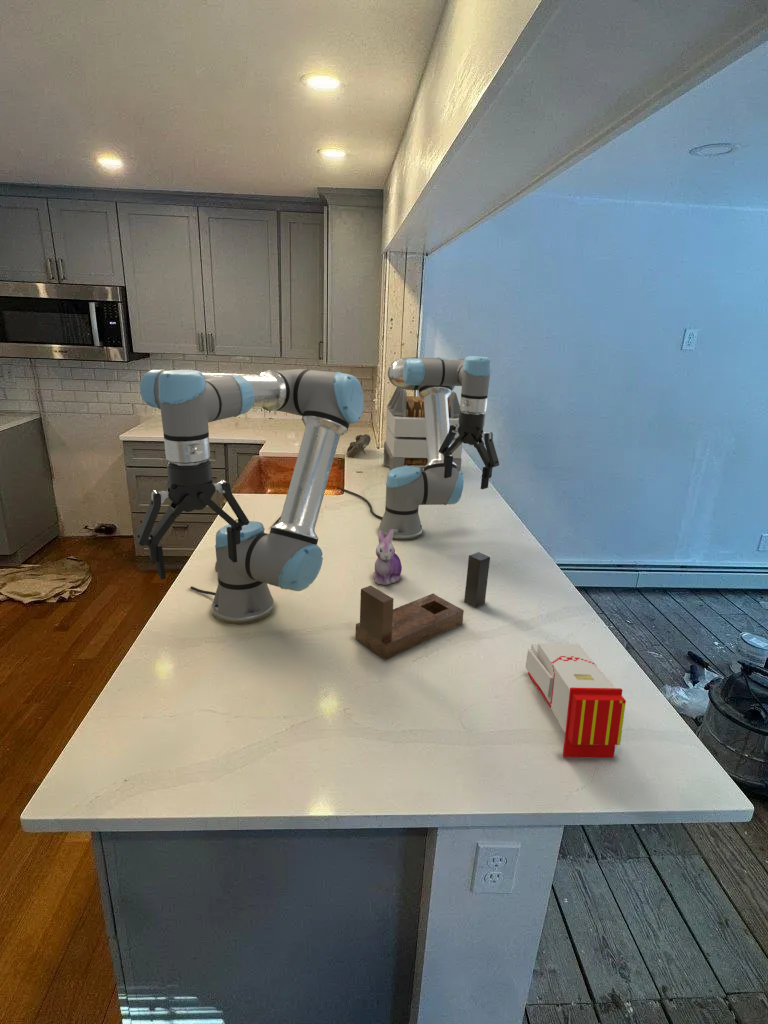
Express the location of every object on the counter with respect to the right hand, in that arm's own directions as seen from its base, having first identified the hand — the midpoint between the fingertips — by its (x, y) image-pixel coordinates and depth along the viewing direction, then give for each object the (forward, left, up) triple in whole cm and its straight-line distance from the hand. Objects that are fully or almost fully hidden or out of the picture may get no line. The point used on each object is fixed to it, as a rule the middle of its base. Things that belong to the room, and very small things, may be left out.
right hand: (465, 482), depth 170 cm
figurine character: (-36, -59, -26) cm, 74 cm away
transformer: (-81, +62, -26) cm, 105 cm away
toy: (+60, -35, -26) cm, 75 cm away
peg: (+20, -16, -26) cm, 37 cm away
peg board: (+20, -40, -26) cm, 52 cm away
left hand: (+10, -88, 0) cm, 88 cm away
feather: (-65, -26, -26) cm, 74 cm away
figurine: (-5, -26, -27) cm, 37 cm away
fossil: (-128, +60, -26) cm, 144 cm away
